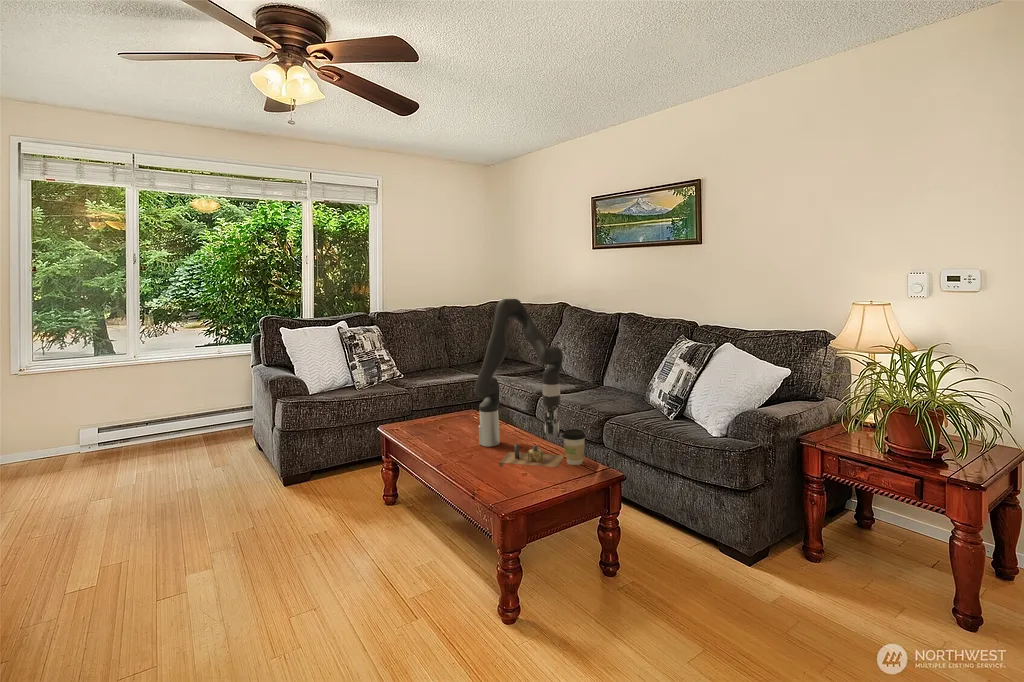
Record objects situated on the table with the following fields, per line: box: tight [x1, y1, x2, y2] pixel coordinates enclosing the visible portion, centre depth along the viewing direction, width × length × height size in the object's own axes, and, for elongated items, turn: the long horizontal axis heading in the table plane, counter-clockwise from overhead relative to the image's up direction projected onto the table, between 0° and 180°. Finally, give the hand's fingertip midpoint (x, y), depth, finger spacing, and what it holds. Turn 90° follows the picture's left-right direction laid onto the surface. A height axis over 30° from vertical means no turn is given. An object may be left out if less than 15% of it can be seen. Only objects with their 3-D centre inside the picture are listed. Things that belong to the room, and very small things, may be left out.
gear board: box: [499, 443, 565, 468], centre depth 233 cm, size 26×14×8 cm, turn 72°
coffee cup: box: [562, 428, 587, 466], centre depth 227 cm, size 10×10×15 cm
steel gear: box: [544, 420, 560, 435], centre depth 229 cm, size 6×6×4 cm
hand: (552, 431), depth 229 cm, fingers closed on steel gear, 5 cm apart
